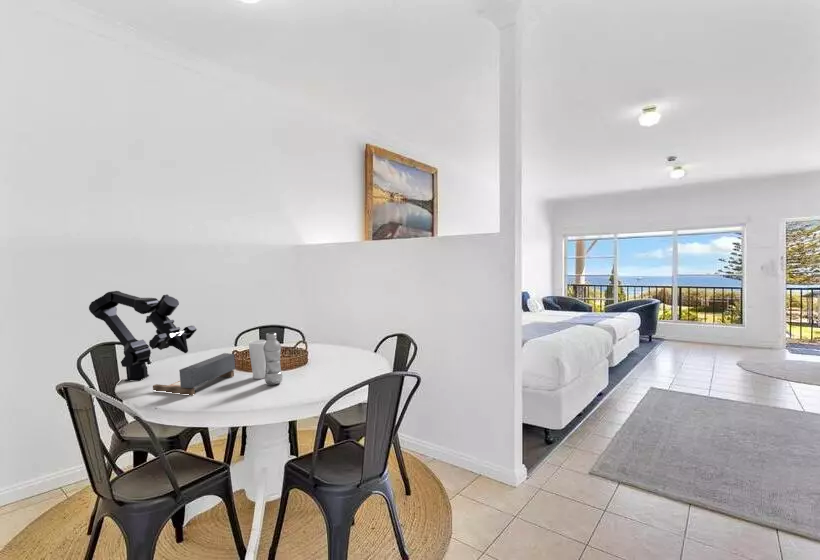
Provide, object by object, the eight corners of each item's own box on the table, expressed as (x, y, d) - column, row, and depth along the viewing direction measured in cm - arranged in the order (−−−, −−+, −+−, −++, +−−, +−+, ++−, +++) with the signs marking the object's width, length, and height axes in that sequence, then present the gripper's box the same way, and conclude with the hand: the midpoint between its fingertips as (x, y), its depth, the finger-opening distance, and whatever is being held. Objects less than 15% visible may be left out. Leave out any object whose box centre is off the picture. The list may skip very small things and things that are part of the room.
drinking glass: (271, 374, 174) (269, 339, 172) (264, 380, 167) (261, 343, 166) (255, 374, 174) (253, 339, 173) (248, 380, 168) (245, 343, 166)
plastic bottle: (267, 381, 165) (264, 332, 163) (284, 380, 166) (281, 331, 164) (262, 387, 159) (259, 335, 157) (281, 386, 159) (278, 335, 158)
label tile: (168, 387, 162) (167, 385, 162) (190, 377, 173) (190, 376, 173) (184, 388, 160) (184, 386, 160) (206, 379, 170) (205, 377, 170)
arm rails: (153, 392, 157) (152, 385, 157) (198, 373, 178) (198, 367, 178) (191, 395, 152) (191, 389, 152) (234, 376, 173) (233, 370, 173)
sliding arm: (180, 387, 153) (179, 369, 152) (224, 368, 175) (223, 353, 174) (191, 388, 151) (190, 370, 151) (235, 369, 173) (233, 353, 172)
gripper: (171, 331, 178) (194, 358, 176) (131, 342, 160) (156, 372, 158) (185, 314, 175) (208, 341, 173) (146, 322, 157) (171, 353, 155)
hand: (186, 352), depth 165 cm, fingers closed
